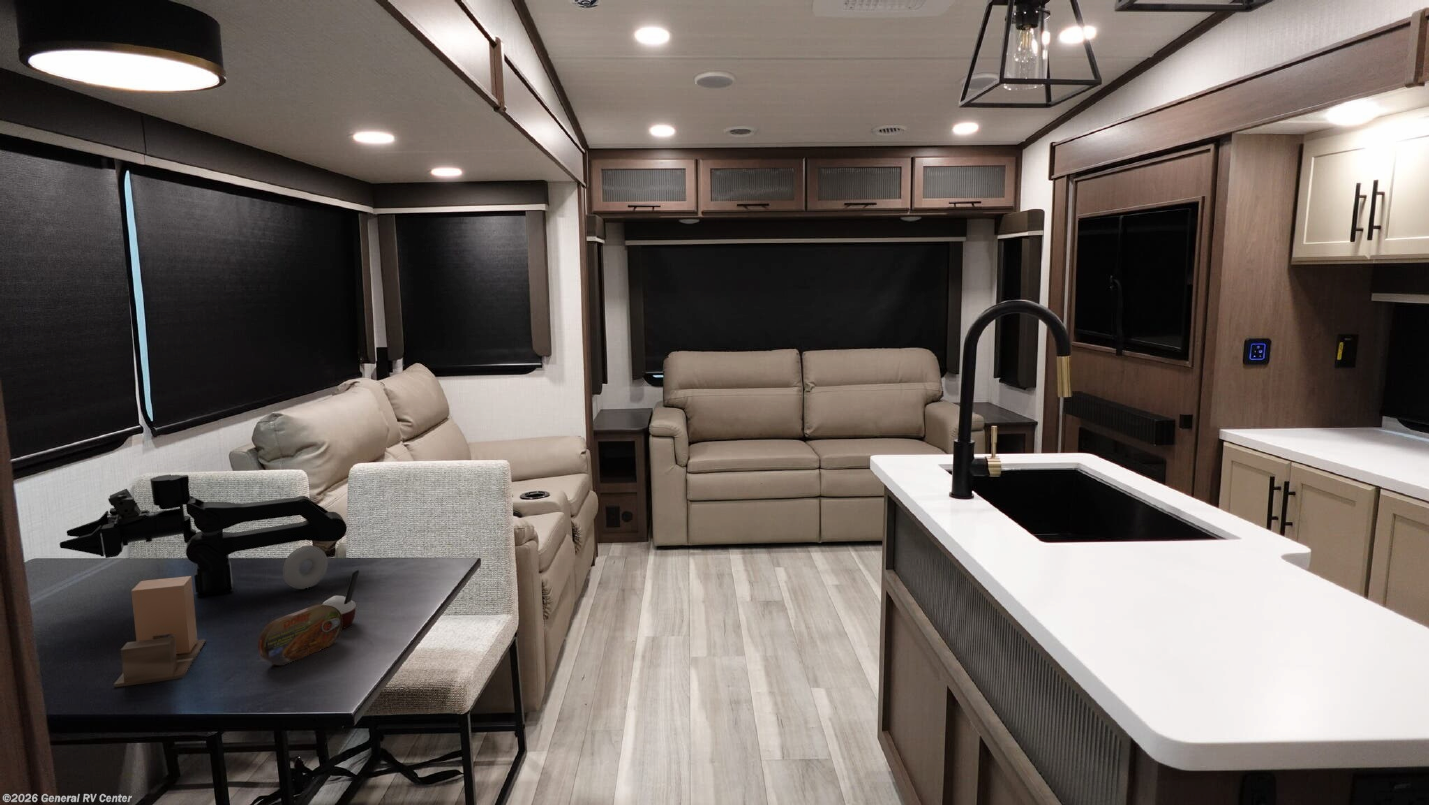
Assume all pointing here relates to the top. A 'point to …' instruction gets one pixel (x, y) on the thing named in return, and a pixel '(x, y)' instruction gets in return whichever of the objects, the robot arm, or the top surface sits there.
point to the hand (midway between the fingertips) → (63, 539)
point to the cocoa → (345, 602)
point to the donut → (294, 563)
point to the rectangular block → (166, 611)
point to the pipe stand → (154, 661)
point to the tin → (300, 634)
